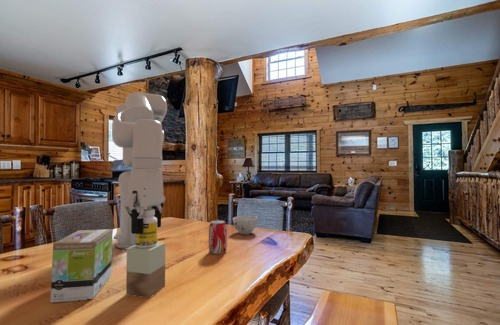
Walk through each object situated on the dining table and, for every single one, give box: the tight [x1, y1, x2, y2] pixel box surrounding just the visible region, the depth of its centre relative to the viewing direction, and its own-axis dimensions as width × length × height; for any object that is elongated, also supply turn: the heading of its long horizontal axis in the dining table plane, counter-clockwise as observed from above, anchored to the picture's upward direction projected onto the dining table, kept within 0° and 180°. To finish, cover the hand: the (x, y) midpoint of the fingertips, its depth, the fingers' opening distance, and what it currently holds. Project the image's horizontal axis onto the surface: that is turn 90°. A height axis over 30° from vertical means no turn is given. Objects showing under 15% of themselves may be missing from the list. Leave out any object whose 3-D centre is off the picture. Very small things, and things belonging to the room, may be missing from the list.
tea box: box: [49, 228, 113, 303], centre depth 73 cm, size 15×10×15 cm, turn 12°
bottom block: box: [125, 264, 166, 299], centre depth 72 cm, size 7×7×6 cm
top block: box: [125, 241, 166, 274], centre depth 72 cm, size 7×7×6 cm
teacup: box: [232, 215, 258, 235], centre depth 134 cm, size 15×12×8 cm
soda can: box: [208, 219, 228, 255], centre depth 104 cm, size 7×7×12 cm
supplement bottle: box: [136, 208, 158, 248], centre depth 72 cm, size 5×5×10 cm
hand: (146, 229), depth 72 cm, fingers open, 7 cm apart
